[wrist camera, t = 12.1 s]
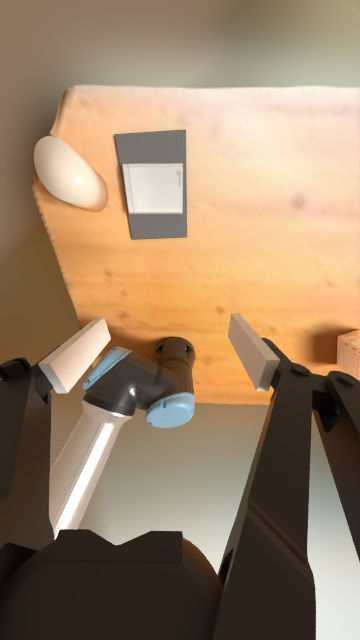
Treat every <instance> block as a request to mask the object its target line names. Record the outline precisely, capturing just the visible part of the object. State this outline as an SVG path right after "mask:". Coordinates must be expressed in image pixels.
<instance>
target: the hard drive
mask: <svg viewBox="0 0 360 640" xmlns="http://www.w3.org/2000/svg"><path fill="white" fill-rule="evenodd" d="M123 174H124V181H125V189H126V196H127V203H128V210H129V214H183V163H173V164H123Z"/></svg>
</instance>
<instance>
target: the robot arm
mask: <svg viewBox="0 0 360 640" xmlns="http://www.w3.org/2000/svg"><path fill="white" fill-rule="evenodd" d="M228 337H229V339H230V341H231V343H232V345H233V347H234V349H235V351H236V353H237V354H238V356H239V358H240V360H241V362H242V364H243V366H244V368H245V370H246V371H247V373H248V375H249V377H250V379H251V381H252V383H253V385H254V387H255V389H256V390H257V391H269V388H270V385H271V386H272V387H273V389H274V392H273V395H272V397H271V400H270V401H271V402H270V405H269V409H268V412H267V415H266V419H265V422H264V426H263V429H262V432H261V436H260V439H259V442H258V445H257V449H256V453H255V455H254V459H253V462H252V465H251V469H250V472H249V476H248V479H247V483H246V486H245V489H244V492H243V496H242V499H241V502H240V506H239V509H238V512H237V516H236V519H235V522H234V525H233V528H232V530H231V533H230V536H229V539H228V542H227V546H226V549H225V553H224V555H223V559H222V562H221V565H220V569H219V572H218V575H217V574H216V572H215V570H214V569H213V567H212V565H211V564H210V562H209V561H208V560H207V558H206V557H205V556H204V554H203V553H202V552H201V551H200V550H199V549H198V548H197V547H196V546H195V545H193V544H192V543H191V542H190V541H188V540H186V539H184V538H183V535H182V532H181V531H150V532H148V533H146V534H143V535H141V536H139V537H137V538H134V539H132V540H130V541H128V542H125V543H123V544H121V545H113V544H112V543H110V542H108V541H107V540H105V539H104V538H102V537H100V536H99V535H97V534H95V533H94V532H92V531H91V530H83V529H82V530H81V529H78V526H79V524H80V522H81V519H82V517H83V515H84V512H85V510H86V507H87V505H88V503H89V500H90V498H91V496H92V494H93V491H94V489H95V487H96V484H97V482H98V480H99V477H100V475H101V473H102V470H103V468H104V465H105V463H106V461H107V459H108V456H109V454H110V451H111V449H112V447H113V444H114V442H115V440H116V438H117V435H118V433H119V431H120V428H121V426H122V424H123V423H124V422H125V421H127V420H129V419H130V418H132V417H133V414H134V412H135V409H136V408H139V409H142V410H145V411H146V414H145V415H146V420H147V422H149V423H150V424H151V425H152V426H155V427H159V428H171V427H176V426H180V425H182V424H184V423H185V422H187V421H188V420H190V418H191V417H192V415H193V413H194V400H195V397H194V390H193V379H192V368H193V365H194V362H195V350H194V347H193V346H192V344H191V343H190V342H189V341H187V340H185V339H183V338H179V337H171V338H167V339H164V340H162V341H161V342H160V343H159V344H158V345H157V347H156V350H155V355H154V357H155V361H153V360H151V359H149V358H146V357H144V356H142V355H140V354H137V353H135V352H133V351H132V350H128V349H125V348H122V347H119V346H117V347H114V348H112V349H110V350H109V351H108V352H107V353H106V354H105V355H104V356H103V357H102V359H101V360H100V361H99V362H98V363H97V365H96V366H95V367H94V368H93V370H92V371H91V372H90V374H89V375H88V377H87V379H86V380H85V382H84V383H83V385H82V389H83V390H84V391H87V393H86V395H85V396H84V398H83V400H82V403H83V407H84V412H83V414H82V416H81V418H80V419H79V421H78V423H77V425H76V426H75V428H74V430H73V432H72V434H71V435H70V437H69V439H68V440H67V442H66V444H65V446H64V447H63V449H62V451H61V453H60V455H59V456H58V458H57V460H56V461H55V463H54V465H53V467H52V469H51V470H50V434H51V394H50V392H49V391H50V390H51V389H52V388H54V389H55V391H56V392H57V393H68V392H69V391H70V389H71V388H72V387H73V386H74V385H75V383H76V382H77V381H78V380H79V378H80V377H81V376H82V374H83V373H84V372H85V371H86V370H87V368H88V367H89V366H90V365H91V363H92V362H93V361H94V360H95V358H96V357H97V356H98V355H99V353H100V352H101V351H102V350H103V348H104V347H105V346H106V345H107V343H108V342H109V341H110V340H111V338H110V334H109V331H108V328H107V325H106V322H105V318H104V317H96V318H95V319H94V320H93V321H91V322H90V323H89V324H88V325H86V326H85V327H84V328H83V329H81V330H80V331H79V332H78V333H76V334H75V335H74V336H72V337H71V338H70V339H69V340H68V341H66V342H65V343H64V344H62V345H60V346H58V347H57V348H56V349H54V350H53V351H52V352H51V353H49V354H48V355H47V356H45V357H44V358H43V359H41V360H40V361H39V362H38V363H37V364H35V365H34V366H33V367H31V365H30V364H29V362H28V361H27V360H26V358H23V357H22V358H16V359H13V360H10V361H7V362H5V363H3V364H1V365H0V378H1V379H2V380H0V640H316V599H315V584H314V578H313V573H312V570H311V568H310V565H309V562H308V557H307V531H308V503H309V473H310V447H311V417H312V411H313V414H314V417H315V420H316V423H317V427H318V430H319V433H320V436H321V440H322V443H323V446H324V449H325V452H326V456H327V459H328V462H329V465H330V468H331V472H332V474H333V478H334V481H335V484H336V487H337V491H338V494H339V497H340V500H341V504H342V507H343V510H344V513H345V516H346V519H347V522H348V526H349V529H350V532H351V535H352V538H353V542H354V545H355V548H356V551H357V555H358V558H359V561H360V381H359V380H357V379H356V378H354V377H353V376H351V375H349V374H346V373H343V372H340V371H330V372H329V373H328V375H327V376H322V375H317V374H313V373H311V372H310V371H309V370H308V369H307V368H305V367H304V366H302V365H300V364H296V363H292V362H291V361H290V360H289V359H288V358H287V357H286V356H285V355H284V354H283V353H282V352H281V351H280V350H279V349H278V348H277V347H276V345H275V344H274V343H273V342H272V341H270V340H268V339H267V338H260V337H259V335H258V334H257V333H256V332H255V331H254V330H253V329H252V328H251V326H250V325H249V324H248V323H247V322H246V321H245V320H244V319H243V317H242V316H241V315H240V314H239V313H235V314H231V319H230V326H229V333H228Z"/></svg>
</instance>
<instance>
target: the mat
mask: <svg viewBox="0 0 360 640" xmlns="http://www.w3.org/2000/svg"><path fill="white" fill-rule="evenodd" d="M115 139H116V145H117V151H118V157H119V163H120V169H121V175H122V181H123V187H124V193H125V199H126V205H127V211H128V217H129V223H130V229H131V235H132V240H136V239H159V238H182V237H187V197H186V130H172V131H157V132H142V133H127V134H115ZM173 163H183V214H129V210H128V203H127V196H126V189H125V181H124V174H123V164H173Z"/></svg>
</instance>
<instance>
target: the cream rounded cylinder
mask: <svg viewBox="0 0 360 640" xmlns="http://www.w3.org/2000/svg"><path fill="white" fill-rule="evenodd" d="M34 164H35V168H36V172H37V174H38V177H39V179H40V180H41V182H42V184H43V185H44V186H45V188H46V189H47V190H48V191H49V192H50V193H51V194H52V195H54V196H55V197H57V198H59V199H61V200H63V201H66V202H68V203H70V204H73V205H75V206H78V207H80V208H82V209H85V210H87V211H90V212H95V213H96V212H100V211H102V210H103V209H104V208H105V206H106V204H107V201H108V190H107V186H106V184H105V181H104V180H103V178H102V177H101V175H100V174H99V173H98V172H97V171H96V170H95V169H93V168H92V167H91V166H90V165H89V164H88V163H87V162H86V161H85V160H84V159H83V158H81V157H80V156H79V155H78V154H77V153H76V152H75V151H74V150H73V149H72V148H71V147H69V146H68V145H67V144H66V143H65V142H64V141H62V140H61V139H59V138H56V137H52V136H47V137H44V138H42V139H40V140H39V141H38V143H37V144H36V147H35V151H34Z"/></svg>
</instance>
